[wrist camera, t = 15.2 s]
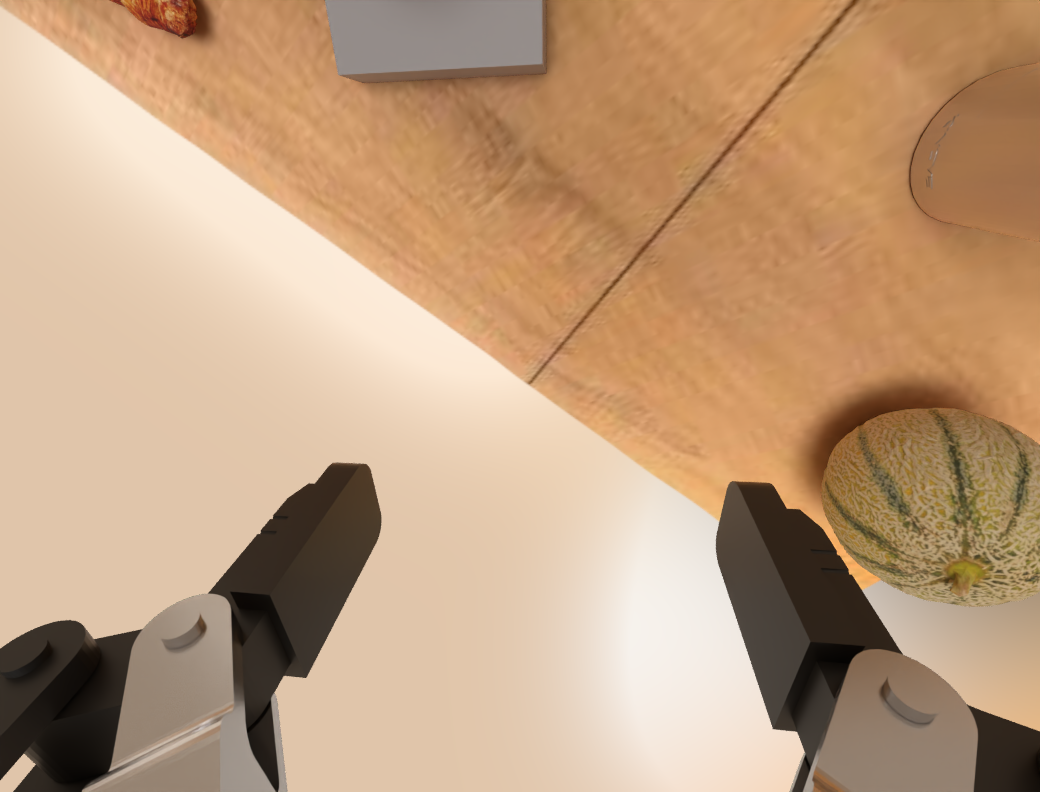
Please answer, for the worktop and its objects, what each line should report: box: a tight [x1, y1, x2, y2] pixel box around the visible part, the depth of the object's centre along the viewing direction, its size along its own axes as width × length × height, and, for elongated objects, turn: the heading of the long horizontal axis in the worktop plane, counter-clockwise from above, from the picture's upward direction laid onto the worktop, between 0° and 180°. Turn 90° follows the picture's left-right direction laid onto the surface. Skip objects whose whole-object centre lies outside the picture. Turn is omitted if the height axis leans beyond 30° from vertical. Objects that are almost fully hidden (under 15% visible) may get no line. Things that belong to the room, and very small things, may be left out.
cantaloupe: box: [821, 408, 1040, 607], centre depth 35 cm, size 15×15×15 cm
